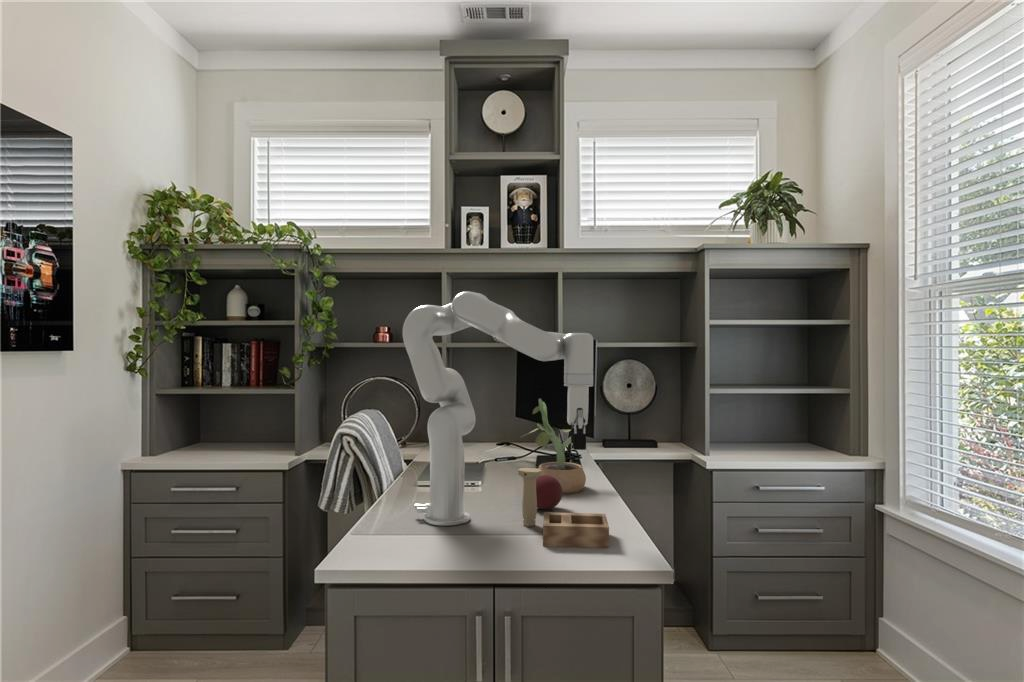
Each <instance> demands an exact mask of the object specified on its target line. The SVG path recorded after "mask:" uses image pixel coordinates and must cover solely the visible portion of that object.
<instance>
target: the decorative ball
mask: <svg viewBox="0 0 1024 682" xmlns="http://www.w3.org/2000/svg"><path fill="white" fill-rule="evenodd" d="M536 497H537V509H541V510H545V511H546V510H550V509H551V510H552V509H553V508H556V506H558V504H559V503H560V502H561V500H562V498H563V494H562V487H561V485H560V483H559V481H558V480H557V479H555V478H554V477H552V476H549V475H541V476H539V477H537V478H536Z"/></svg>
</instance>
